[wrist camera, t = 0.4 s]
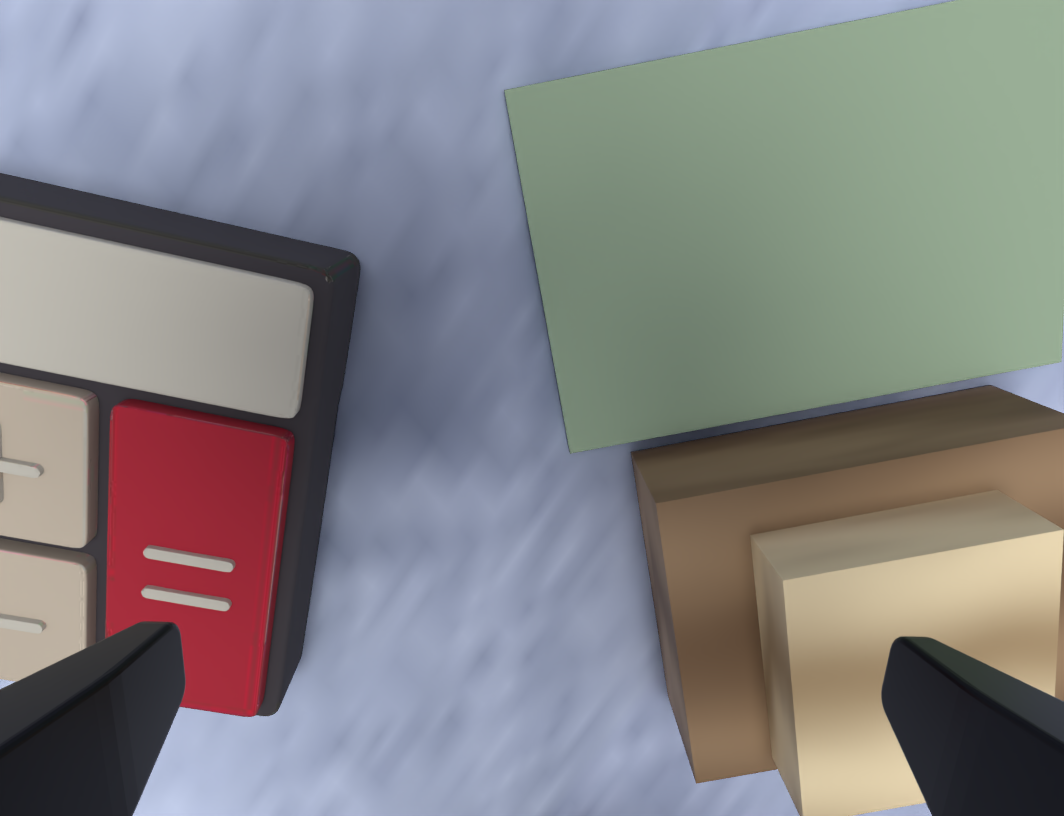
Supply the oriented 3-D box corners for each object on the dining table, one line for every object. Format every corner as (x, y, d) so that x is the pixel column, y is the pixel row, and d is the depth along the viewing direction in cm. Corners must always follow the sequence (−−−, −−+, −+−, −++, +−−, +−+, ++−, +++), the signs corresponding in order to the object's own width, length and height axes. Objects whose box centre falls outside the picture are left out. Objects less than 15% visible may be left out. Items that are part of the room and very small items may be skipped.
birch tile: (991, 718, 22) (1050, 781, 19) (772, 757, 22) (803, 823, 19) (997, 489, 19) (1064, 529, 17) (750, 535, 19) (782, 580, 17)
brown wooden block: (986, 639, 25) (1070, 717, 22) (668, 696, 26) (696, 783, 22) (990, 385, 22) (1089, 423, 19) (630, 451, 23) (655, 503, 19)
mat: (1051, 358, 22) (1060, 361, 22) (569, 449, 23) (570, 453, 22) (1069, -20, 19) (1080, -24, 19) (504, 92, 19) (504, 90, 19)
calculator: (-100, 683, 21) (-154, 170, 16) (1, 597, 25) (-17, 167, 20) (269, 739, 22) (328, 276, 17) (307, 648, 26) (364, 253, 21)
